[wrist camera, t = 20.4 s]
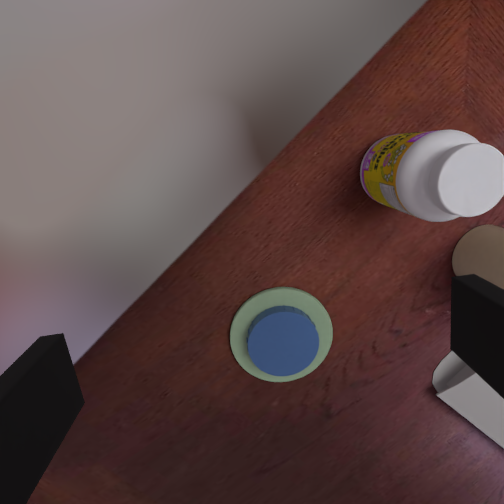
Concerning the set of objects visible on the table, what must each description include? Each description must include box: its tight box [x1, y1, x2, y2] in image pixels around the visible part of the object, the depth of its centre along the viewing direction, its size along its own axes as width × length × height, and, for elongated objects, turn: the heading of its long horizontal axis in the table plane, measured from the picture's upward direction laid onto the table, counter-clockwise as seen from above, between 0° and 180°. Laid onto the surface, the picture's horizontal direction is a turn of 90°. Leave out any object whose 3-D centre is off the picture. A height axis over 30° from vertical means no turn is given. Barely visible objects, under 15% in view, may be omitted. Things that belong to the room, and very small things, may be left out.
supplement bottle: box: [360, 130, 504, 222], centre depth 30 cm, size 7×7×13 cm
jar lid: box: [246, 305, 319, 376], centre depth 39 cm, size 8×8×2 cm
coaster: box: [230, 287, 333, 382], centre depth 40 cm, size 11×11×1 cm
